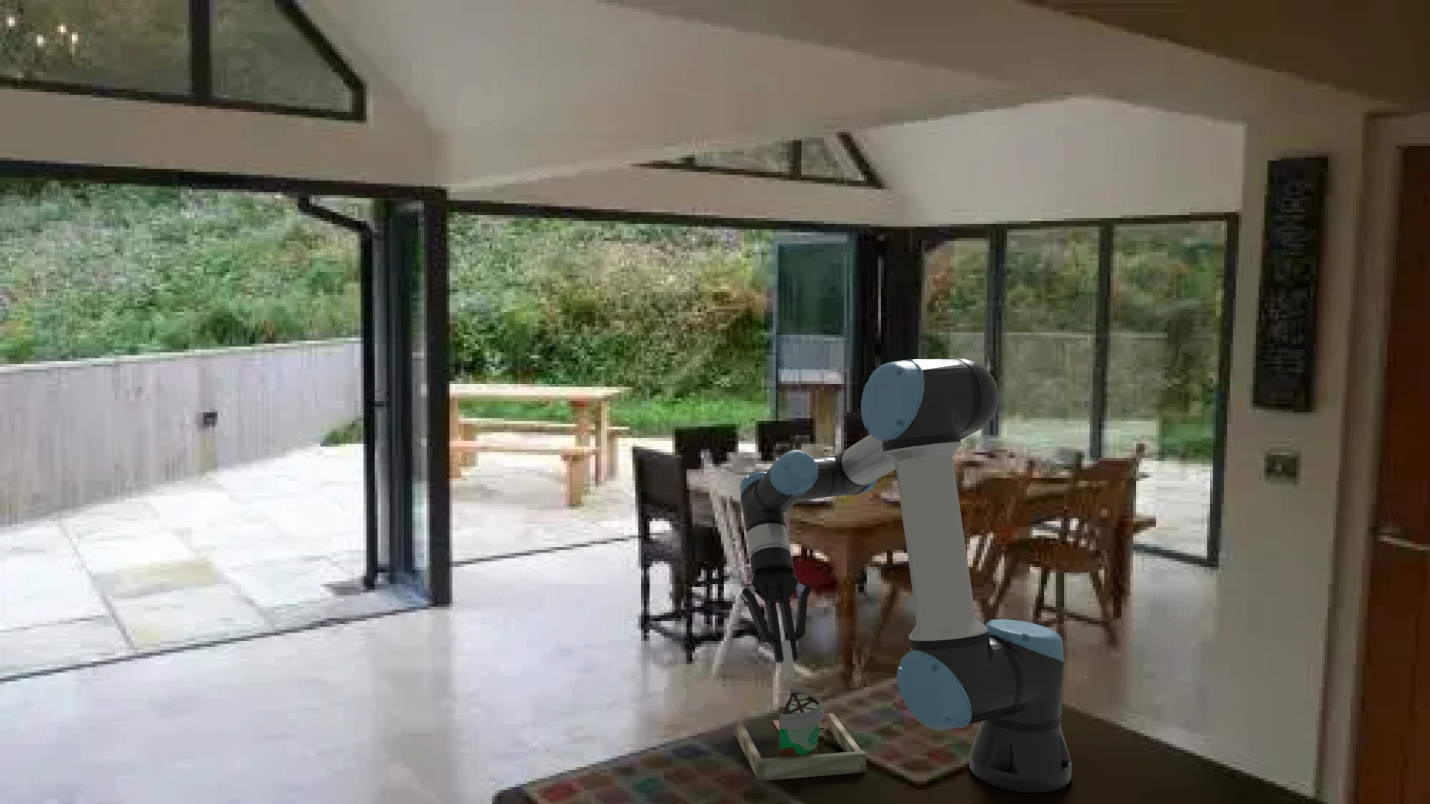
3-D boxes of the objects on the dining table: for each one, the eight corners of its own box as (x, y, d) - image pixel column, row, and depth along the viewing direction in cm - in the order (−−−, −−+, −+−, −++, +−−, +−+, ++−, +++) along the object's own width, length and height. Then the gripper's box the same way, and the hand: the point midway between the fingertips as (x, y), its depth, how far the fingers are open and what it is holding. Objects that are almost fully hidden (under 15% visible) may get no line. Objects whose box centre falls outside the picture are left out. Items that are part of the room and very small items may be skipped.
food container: (818, 783, 166) (819, 719, 164) (778, 779, 167) (778, 715, 166) (828, 749, 178) (829, 690, 176) (790, 746, 179) (791, 686, 178)
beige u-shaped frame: (865, 772, 169) (866, 753, 169) (758, 781, 166) (758, 762, 166) (832, 727, 186) (833, 710, 186) (734, 734, 183) (734, 717, 183)
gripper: (799, 561, 204) (821, 685, 192) (731, 564, 202) (748, 689, 189) (809, 543, 198) (831, 670, 185) (738, 546, 195) (757, 674, 183)
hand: (789, 679), depth 187 cm, fingers closed
